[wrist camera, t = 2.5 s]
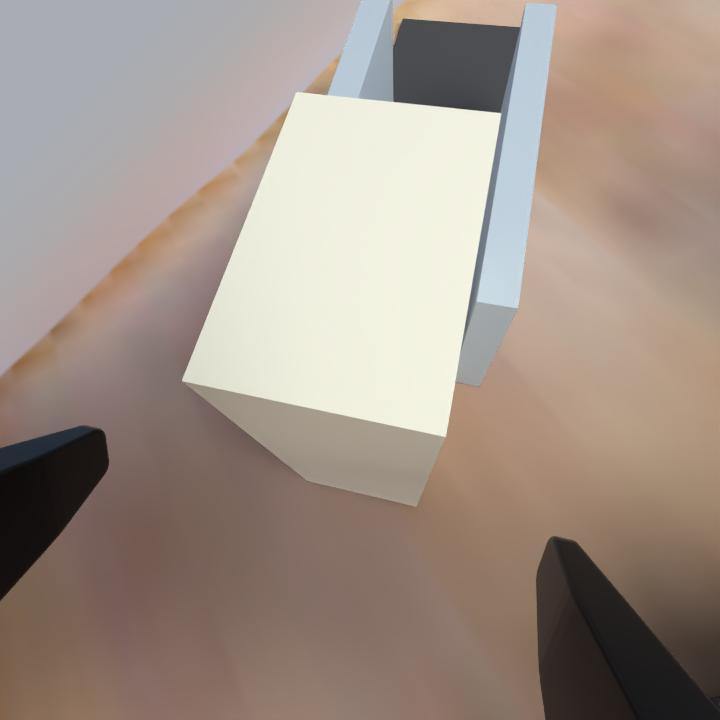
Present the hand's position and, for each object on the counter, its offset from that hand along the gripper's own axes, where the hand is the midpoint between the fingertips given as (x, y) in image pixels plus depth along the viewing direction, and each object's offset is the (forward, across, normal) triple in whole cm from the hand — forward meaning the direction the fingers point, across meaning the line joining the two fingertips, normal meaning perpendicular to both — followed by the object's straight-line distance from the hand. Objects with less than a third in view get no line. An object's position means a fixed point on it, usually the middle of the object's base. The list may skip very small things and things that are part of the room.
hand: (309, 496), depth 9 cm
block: (+10, 0, +4) cm, 11 cm away
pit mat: (+25, 0, -11) cm, 28 cm away
